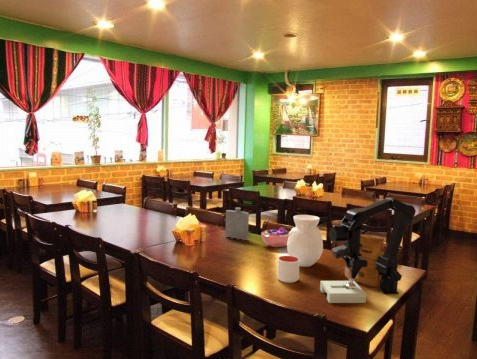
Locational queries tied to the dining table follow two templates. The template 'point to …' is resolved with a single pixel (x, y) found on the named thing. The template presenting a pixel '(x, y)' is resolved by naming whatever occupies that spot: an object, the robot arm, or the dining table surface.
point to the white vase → (305, 240)
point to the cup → (288, 269)
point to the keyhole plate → (342, 292)
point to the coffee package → (370, 260)
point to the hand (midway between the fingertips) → (351, 276)
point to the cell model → (276, 237)
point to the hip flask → (237, 224)
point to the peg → (350, 278)
